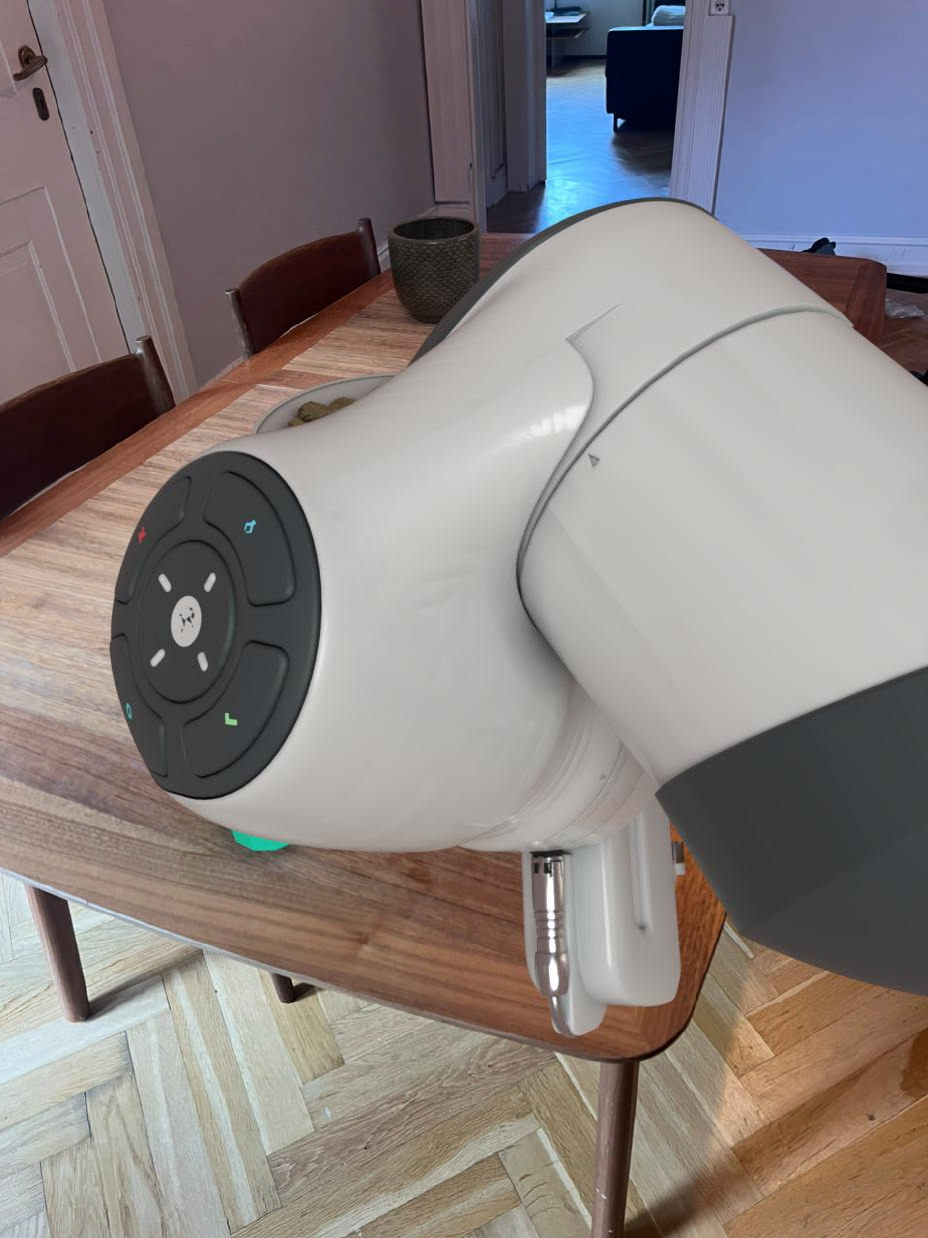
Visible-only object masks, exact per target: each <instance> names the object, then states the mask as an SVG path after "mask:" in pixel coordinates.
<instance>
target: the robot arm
mask: <svg viewBox="0 0 928 1238" xmlns="http://www.w3.org/2000/svg"><path fill="white" fill-rule="evenodd" d="M397 373H398V374H397V375H395V376H394V377H392V378H391V379H389V380H388V381H386V382H385V383H384V384H382V385H381V386H379V387H378V388H376V389H375V390H373V391H371V392H370V393H368V394H367V395H365V396H363V397H362V398H360V399H359V400H357V401H355V402H354V403H352V404H350V405H348V406H346V407H344V408H342V409H340V410H338V411H336V412H334V413H332V414H329V415H327V416H325V417H323V418H320V419H317V420H314V421H311V422H308V423H305V424H302V425H298V426H293V427H288V428H284V429H279V430H274V431H268V432H262V433H256V434H251V435H249V434H247V435H241V436H238V437H234V438H231V439H227V440H225V441H222V442H219V443H216V444H215V445H213V446H211V447H209V448H207V449H205V450H203V451H201V452H200V453H198V454H197V455H196V456H194V457H193V458H191V459H190V460H189V461H187V462H186V463H185V464H183V465H182V466H180V467H179V468H178V469H177V470H176V471H174V472H173V474H172V475H171V476H170V477H169V478H168V479H167V480H166V481H165V483H164V484H163V485H162V486H160V488H159V490H158V491H157V492H156V493H155V495H153V497H152V498H151V500H150V502H149V503H148V504H147V506H146V507H145V509H144V510H143V513H142V515H141V516H140V518H139V520H138V522H137V523H136V526H135V527H134V530H133V532H132V534H131V537H130V539H129V542H128V545H127V547H126V550H125V552H124V555H123V558H122V562H121V565H120V567H119V570H118V574H117V578H116V582H115V585H114V594H113V595H114V597H113V604H112V609H111V619H110V620H111V621H110V642H109V646H108V648H109V650H108V651H109V658H110V666H111V671H112V677H113V681H114V686H115V687H114V688H115V692H116V695H117V699H118V701H119V704H120V708H121V711H122V713H123V716H124V719H125V722H126V725H127V728H128V730H129V732H130V735H131V737H132V739H133V742H134V744H135V746H136V748H137V751H138V753H139V755H140V756H141V758H142V760H143V762H144V764H145V766H146V768H147V770H148V772H149V774H150V777H152V779H153V781H154V783H156V785H157V786H158V787H159V788H160V789H161V790H162V791H163V792H164V793H165V794H166V795H168V796H169V797H170V798H171V799H173V800H174V801H175V802H176V803H178V804H179V805H181V806H183V807H184V808H186V809H187V810H189V811H191V812H192V813H194V814H195V815H197V816H199V817H201V818H203V819H205V820H207V821H210V822H212V823H214V824H215V825H216V824H217V825H219V826H221V827H223V828H225V829H228V830H230V831H231V830H234V831H237V832H240V833H243V834H247V835H250V836H254V837H257V838H262V839H267V840H272V841H277V842H282V843H287V844H289V845H295V846H302V847H310V848H316V849H324V850H337V851H349V852H367V853H427V852H435V851H441V850H442V851H443V850H447V849H451V848H455V847H459V848H463V849H469V850H473V851H479V852H493V853H520V855H521V882H522V883H521V884H522V886H521V887H522V908H523V909H522V912H523V942H524V951H525V952H524V953H525V960H526V966H527V971H528V974H529V976H530V979H531V981H532V983H533V985H534V987H535V988H536V989H537V991H538V993H539V995H541V996H544V997H547V1001H548V1009H549V1012H550V1015H551V1025H552V1028H553V1030H554V1032H556V1034H559V1035H563V1036H564V1037H566V1038H568V1039H574V1038H576V1037H579V1036H583V1035H585V1034H588V1033H590V1032H592V1031H594V1030H596V1029H598V1028H599V1026H600V1025H601V1024H602V1022H603V1020H604V1018H605V1016H606V1012H607V1008H608V1006H621V1007H622V1006H626V1007H643V1008H644V1007H647V1008H648V1007H657V1006H662V1005H665V1004H668V1003H671V1002H672V1001H673V1000H674V999H675V998H676V995H677V992H678V989H679V985H680V980H681V973H682V960H681V952H680V951H681V950H680V937H679V925H678V912H677V899H676V887H675V886H676V883H677V879H678V876H684V875H686V873H687V872H686V861H685V849H684V846H685V847H686V849H687V851H688V852H689V854H690V856H691V857H692V859H693V860H694V862H695V864H696V866H697V867H698V868H699V870H700V872H701V873H702V876H703V877H704V878H705V880H706V882H707V883H708V885H709V887H710V888H711V890H712V891H713V893H714V895H715V896H716V898H717V900H718V902H719V903H720V904H721V906H722V907H723V909H724V911H725V913H726V914H727V916H728V917H729V919H730V921H731V923H732V924H733V926H734V927H735V929H736V931H737V932H738V934H739V935H740V936H741V937H743V938H745V939H747V940H750V941H752V942H753V943H756V944H758V945H760V946H763V947H765V948H766V949H769V950H771V951H774V952H776V953H779V954H781V955H783V956H786V957H789V958H791V959H793V960H796V961H799V962H802V963H804V964H807V965H809V966H811V967H814V968H817V969H819V970H823V971H826V972H829V973H832V974H835V975H838V976H841V977H844V978H848V979H851V980H854V981H857V982H861V983H865V984H868V985H872V986H877V987H880V988H884V989H889V990H892V991H896V992H902V993H907V994H912V995H917V996H922V997H927V998H928V386H927V385H926V384H924V382H922V381H921V380H919V379H918V378H917V377H916V376H914V375H913V373H911V372H909V371H908V370H907V369H905V368H904V367H903V366H902V365H900V364H899V363H898V362H896V361H895V360H894V359H893V358H891V357H890V356H889V355H887V353H885V352H884V351H882V350H881V349H880V348H879V347H877V346H876V345H875V344H873V343H872V342H871V341H870V340H868V339H867V338H866V337H865V336H863V334H861V333H859V332H858V331H857V330H855V329H854V324H853V323H852V322H851V321H850V320H849V318H847V316H846V315H845V314H843V313H842V312H841V311H840V310H839V309H837V308H836V307H834V306H833V305H832V304H831V303H829V302H828V301H826V300H825V299H824V298H823V297H821V296H820V295H819V294H818V293H816V292H815V291H813V290H812V289H811V288H810V287H808V286H807V285H805V284H804V283H803V282H801V280H799V279H798V278H797V277H795V276H794V275H793V274H791V273H790V272H789V271H788V270H787V269H785V268H784V267H782V266H781V265H780V264H778V263H777V262H776V261H774V260H773V259H772V258H770V257H769V256H768V255H766V253H764V252H762V251H761V250H759V249H758V248H757V247H755V246H754V245H753V244H751V243H750V242H749V241H747V240H746V239H745V238H744V237H742V236H741V235H739V234H737V233H736V232H735V231H734V230H732V229H731V228H730V227H728V226H727V225H726V224H724V223H722V222H721V221H720V220H719V219H718V218H717V217H716V216H715V215H714V214H712V213H711V212H710V211H709V210H707V209H705V208H704V207H703V206H700V205H699V204H696V203H694V202H691V201H688V200H684V199H681V198H675V197H668V196H667V197H666V196H646V197H637V198H631V199H623V200H619V201H614V202H610V203H606V204H602V205H599V206H596V207H592V208H590V209H589V208H588V209H586V210H583V211H580V212H578V213H575V214H573V215H570V216H568V217H566V218H564V219H562V220H560V221H557V222H556V223H553V224H551V225H550V226H548V227H546V228H544V229H543V230H540V231H539V232H538V233H536V234H534V235H533V236H531V237H530V238H528V239H527V240H526V241H524V242H522V243H521V244H519V245H518V246H516V247H515V248H514V249H513V250H511V251H510V252H509V253H507V254H506V255H505V256H504V257H502V258H501V259H500V260H499V261H498V262H496V264H494V265H493V266H492V267H491V268H490V269H489V270H488V271H487V272H486V273H484V274H483V275H482V276H481V277H480V280H479V281H478V282H477V283H476V284H475V285H474V286H473V287H472V288H471V289H470V290H469V291H468V292H467V293H466V294H465V295H464V296H463V297H462V298H461V299H460V300H459V301H458V302H457V303H456V304H455V305H454V306H453V307H452V309H451V310H450V311H449V312H448V313H447V314H446V315H445V316H444V317H443V318H442V320H441V321H440V322H439V323H436V326H435V327H434V328H433V329H432V330H431V332H430V333H429V335H428V336H427V337H426V338H425V340H424V341H423V343H422V344H421V345H420V347H419V348H418V350H417V351H416V353H415V354H414V356H413V357H412V359H411V360H410V361H409V363H408V364H407V366H406V367H405V368H403V369H402V370H401V371H400V372H397ZM671 825H672V826H673V828H674V829H675V832H676V833H677V835H678V836H679V838H680V840H681V841H680V840H679V841H675V840H673V841H672V832H671Z"/></svg>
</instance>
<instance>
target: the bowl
mask: <svg viewBox="0 0 928 1238" xmlns="http://www.w3.org/2000/svg"><path fill="white" fill-rule="evenodd" d="M398 373H399V372H385V373H383V372H382V373H381V372H380V373H371V374H370V373H369V374H362V375H356V376H350V377H345V378H340V379H335V380H331V381H327V382H323V383H321V384H317V385H315V386H311V387H308V388H307V389H303V390H301V391H299V392H296V393H294V394H292V395H290V396H288V397H286V398H284V399H283V400H280V401H279V402H277V403H275V404H274V405H273V406H271V407H269V408H268V409H267V410H266V411H265V412H264V413H263V414H262V415H261V416H260V417H259V418H258V419H257V420H256V422H255V423H254V424H253V426H252V428H251V429H250V432H249V434H248V435H251V434H256V433H262V432H268V431H274V430H279V429H284V428H288V427H293V426H298V425H302V424H305V423H308V422H311V421H314V420H317V419H320V418H323V417H325V416H327V415H329V414H332V413H334V412H336V411H338V410H340V409H342V408H344V407H346V406H348V405H350V404H352V403H354V402H355V401H357V400H359V399H360V398H362V397H363V396H365V395H367V394H368V393H370V392H371V391H373V390H375V389H376V388H378V387H379V386H381V385H382V384H384V383H385V382H386V381H388V380H389V379H391V378H392V377H394V376H395V375H397V374H398Z"/></svg>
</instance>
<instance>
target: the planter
mask: <svg viewBox="0 0 928 1238" xmlns="http://www.w3.org/2000/svg"><path fill="white" fill-rule="evenodd" d="M386 238H387V239H386V240H387V246H388V247H387V248H388V255H389V262H390V263H389V264H390V269H391V277H392V281H393V286H394V290H395V293H396V294H395V295H396V296H397V299H398V301H399V303H400V304H401V306H402V307H403V308H404V309H405V310H406V311H408V312H410V313H411V315H412V317H413V318H414V319H415V320H417V321H419V322H422V323H427V324H438V323H439V322H440V321H441V320H442V318H443V317H444V316H445V315H446V314H447V313H448V312H449V311H450V310H451V309H452V307H453V306H454V305H455V304H456V303H457V302H458V301H459V300H460V299H461V298H462V297H463V296H464V295H465V294H466V293H467V292H468V291H469V290H470V289H471V288H472V287H473V286H474V285H475V284H476V283H477V282H478V281H479V280H480V279H481V260H482V229H481V225H480V224H479V223H478V222H477V221H476V220H474V219H470V218H467V217H464V216H456V215H425V216H418V217H412V218H408V219H404V220H399V221H398V222H395V223H393V224H392V225H391V226H389V228H388V229H387V232H386Z"/></svg>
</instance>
